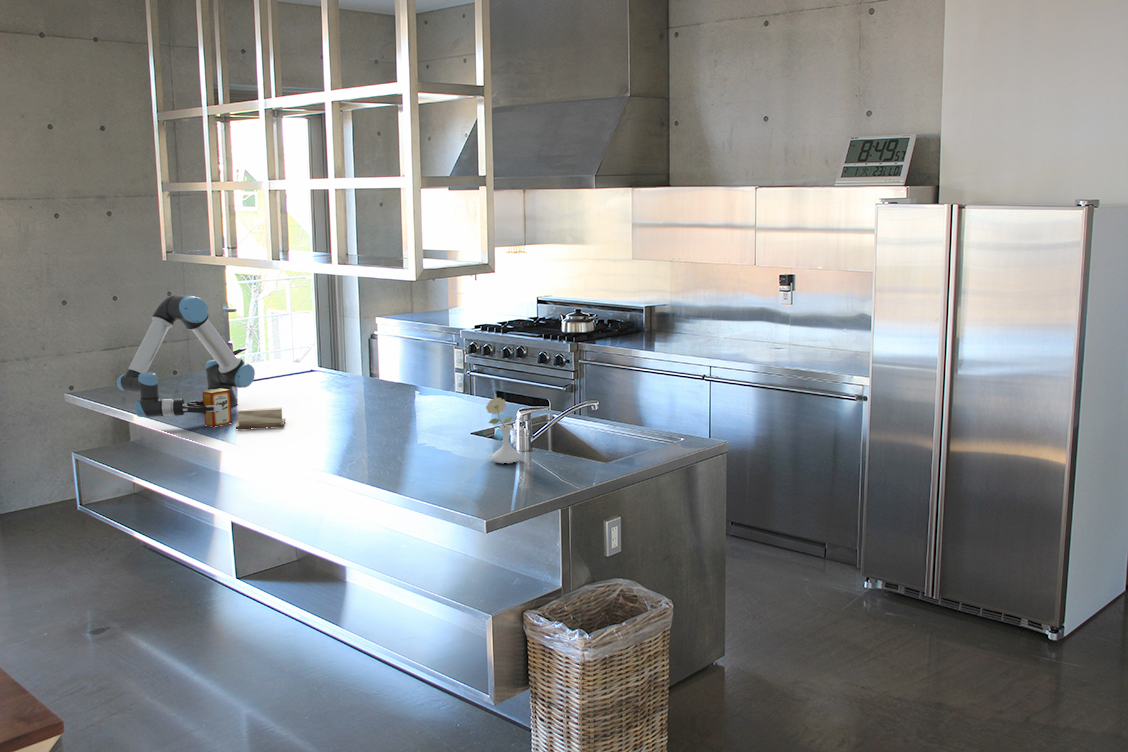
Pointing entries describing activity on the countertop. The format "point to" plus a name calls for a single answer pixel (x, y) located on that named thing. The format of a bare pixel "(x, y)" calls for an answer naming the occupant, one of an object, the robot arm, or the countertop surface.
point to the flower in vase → (506, 451)
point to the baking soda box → (217, 398)
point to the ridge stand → (260, 418)
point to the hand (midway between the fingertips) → (224, 404)
